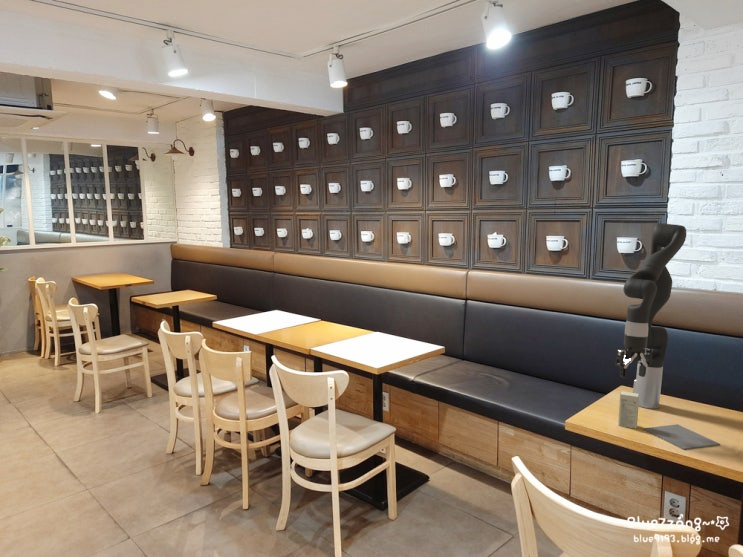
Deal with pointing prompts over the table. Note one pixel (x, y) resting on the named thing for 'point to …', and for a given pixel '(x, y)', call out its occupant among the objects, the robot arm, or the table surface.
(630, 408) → the skincare box
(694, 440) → the mat
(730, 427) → the table surface
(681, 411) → the table surface
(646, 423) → the table surface
